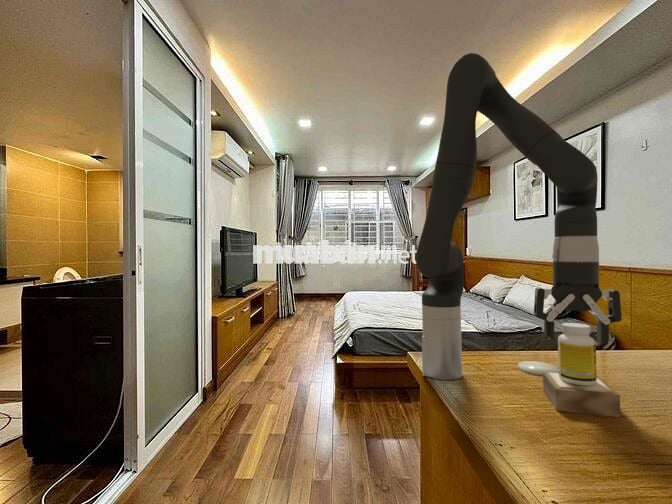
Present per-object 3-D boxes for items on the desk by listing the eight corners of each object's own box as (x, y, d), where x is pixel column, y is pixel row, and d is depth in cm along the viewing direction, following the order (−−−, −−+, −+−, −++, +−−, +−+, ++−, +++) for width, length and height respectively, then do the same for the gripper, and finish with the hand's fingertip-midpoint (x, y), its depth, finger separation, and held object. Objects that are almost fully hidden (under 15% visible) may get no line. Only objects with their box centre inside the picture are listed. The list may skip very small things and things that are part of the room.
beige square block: (556, 410, 66) (555, 387, 66) (543, 390, 75) (542, 370, 75) (620, 417, 62) (619, 393, 63) (598, 395, 72) (597, 375, 72)
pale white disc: (521, 373, 86) (521, 370, 86) (515, 362, 94) (515, 360, 94) (563, 377, 83) (563, 373, 83) (553, 365, 92) (553, 362, 92)
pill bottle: (603, 387, 65) (602, 328, 65) (567, 385, 66) (565, 327, 67) (587, 376, 71) (585, 322, 71) (553, 374, 73) (552, 321, 73)
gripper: (539, 259, 68) (539, 343, 68) (627, 260, 63) (628, 349, 63) (530, 259, 75) (531, 334, 75) (610, 259, 70) (610, 339, 70)
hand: (575, 341), depth 69 cm, fingers open, 8 cm apart
